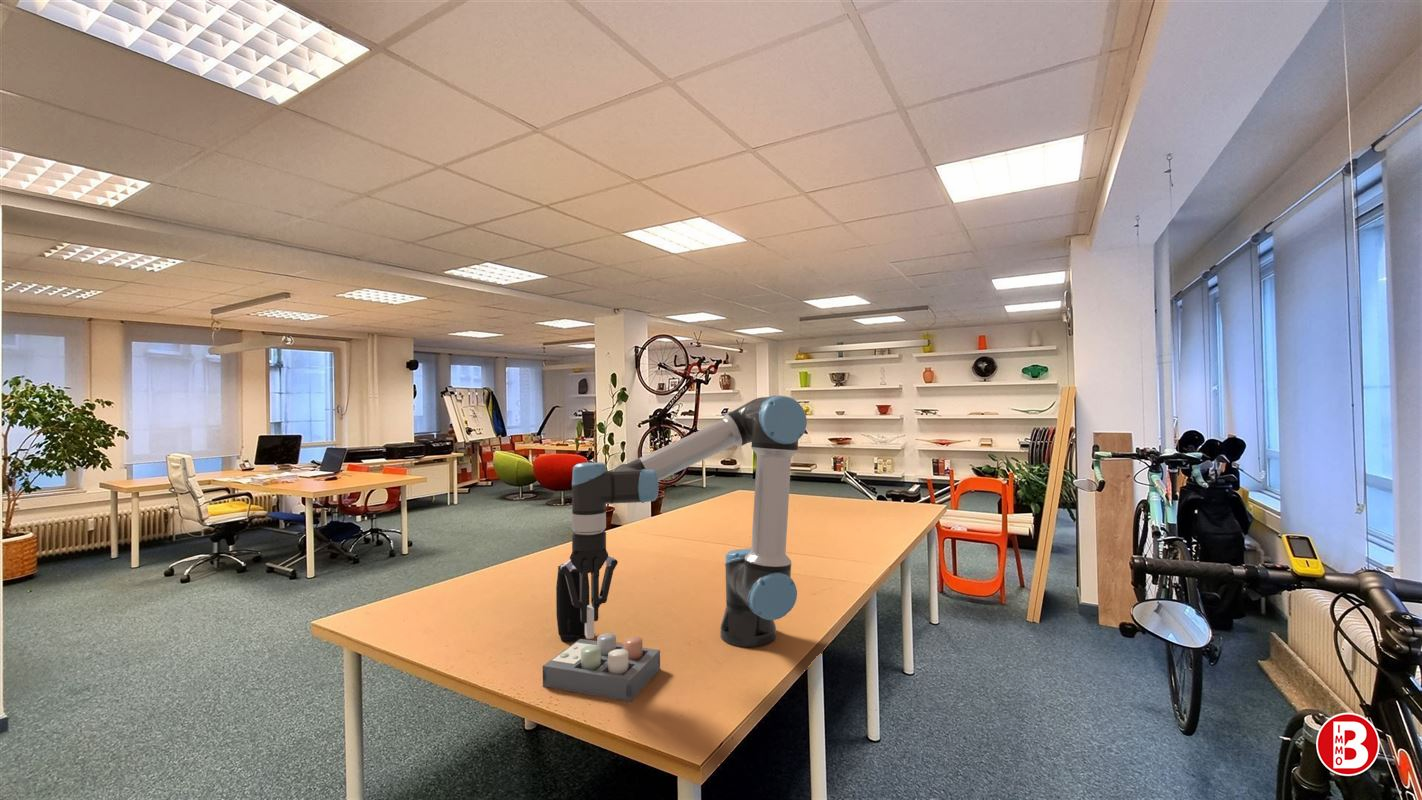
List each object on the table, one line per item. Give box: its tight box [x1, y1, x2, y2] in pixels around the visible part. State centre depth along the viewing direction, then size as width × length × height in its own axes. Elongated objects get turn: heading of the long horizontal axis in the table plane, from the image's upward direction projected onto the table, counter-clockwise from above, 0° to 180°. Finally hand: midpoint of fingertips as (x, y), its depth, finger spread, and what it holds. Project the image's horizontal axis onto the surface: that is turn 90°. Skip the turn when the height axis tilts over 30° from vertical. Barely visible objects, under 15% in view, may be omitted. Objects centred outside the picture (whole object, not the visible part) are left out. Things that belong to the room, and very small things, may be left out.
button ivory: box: [608, 649, 629, 675], centre depth 117 cm, size 4×4×4 cm
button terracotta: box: [622, 636, 644, 661], centre depth 124 cm, size 4×4×4 cm
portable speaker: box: [555, 565, 590, 643], centre depth 146 cm, size 9×9×20 cm
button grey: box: [596, 632, 617, 657], centre depth 126 cm, size 4×4×4 cm
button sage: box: [581, 645, 601, 671], centre depth 120 cm, size 4×4×4 cm
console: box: [542, 638, 661, 703], centre depth 123 cm, size 22×15×5 cm
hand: (589, 636), depth 120 cm, fingers closed
